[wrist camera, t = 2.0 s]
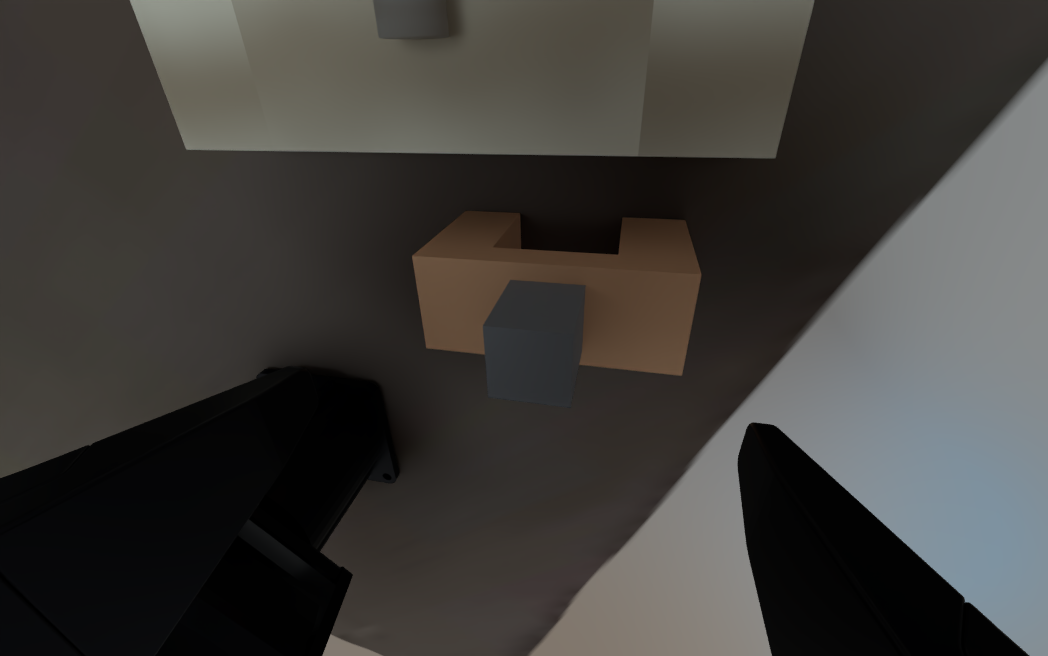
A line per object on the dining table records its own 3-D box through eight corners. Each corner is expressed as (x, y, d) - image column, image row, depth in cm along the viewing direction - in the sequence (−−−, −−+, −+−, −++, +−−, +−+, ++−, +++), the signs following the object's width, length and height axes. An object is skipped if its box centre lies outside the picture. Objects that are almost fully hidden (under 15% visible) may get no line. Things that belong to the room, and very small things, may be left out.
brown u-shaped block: (671, 302, 16) (690, 440, 10) (472, 286, 17) (387, 399, 12) (684, 219, 14) (717, 325, 9) (465, 211, 16) (364, 295, 10)
